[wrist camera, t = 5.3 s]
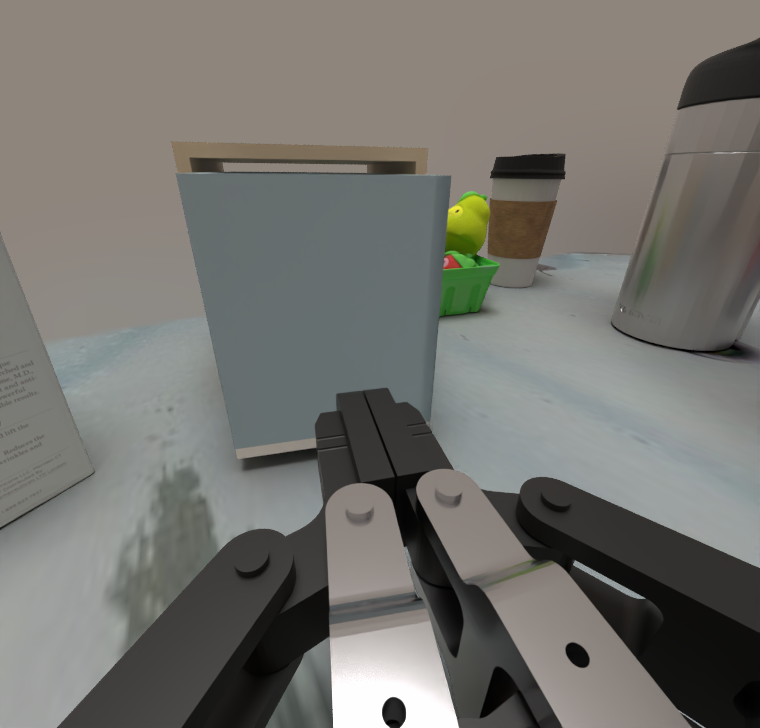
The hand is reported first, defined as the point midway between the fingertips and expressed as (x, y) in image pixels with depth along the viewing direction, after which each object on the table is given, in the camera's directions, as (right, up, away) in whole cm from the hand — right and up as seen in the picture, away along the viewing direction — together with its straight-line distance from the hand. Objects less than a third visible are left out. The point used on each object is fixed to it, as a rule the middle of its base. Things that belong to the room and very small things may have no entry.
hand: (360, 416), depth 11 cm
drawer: (-4, +2, +15) cm, 16 cm away
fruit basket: (+8, +8, +31) cm, 33 cm away
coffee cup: (+18, +12, +39) cm, 45 cm away
